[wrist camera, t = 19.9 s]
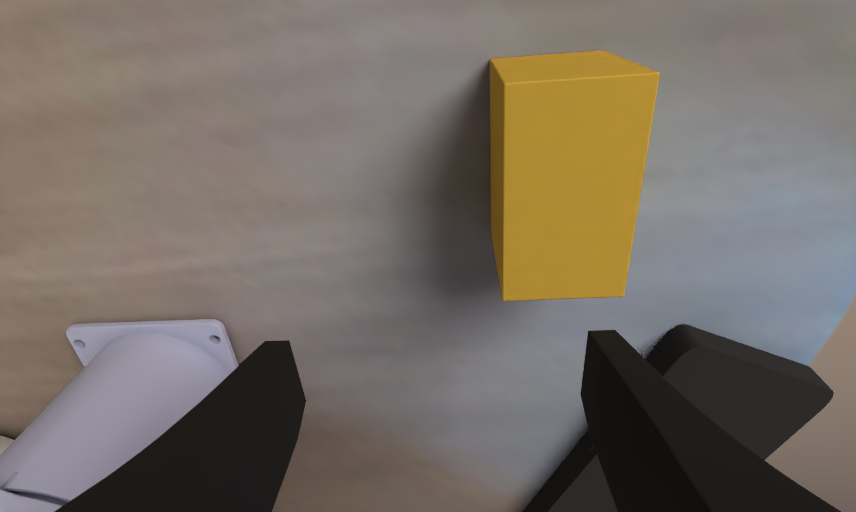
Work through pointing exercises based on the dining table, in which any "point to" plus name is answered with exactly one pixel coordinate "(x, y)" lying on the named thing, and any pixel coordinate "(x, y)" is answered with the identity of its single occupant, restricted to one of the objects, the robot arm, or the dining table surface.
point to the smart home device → (704, 408)
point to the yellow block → (567, 171)
